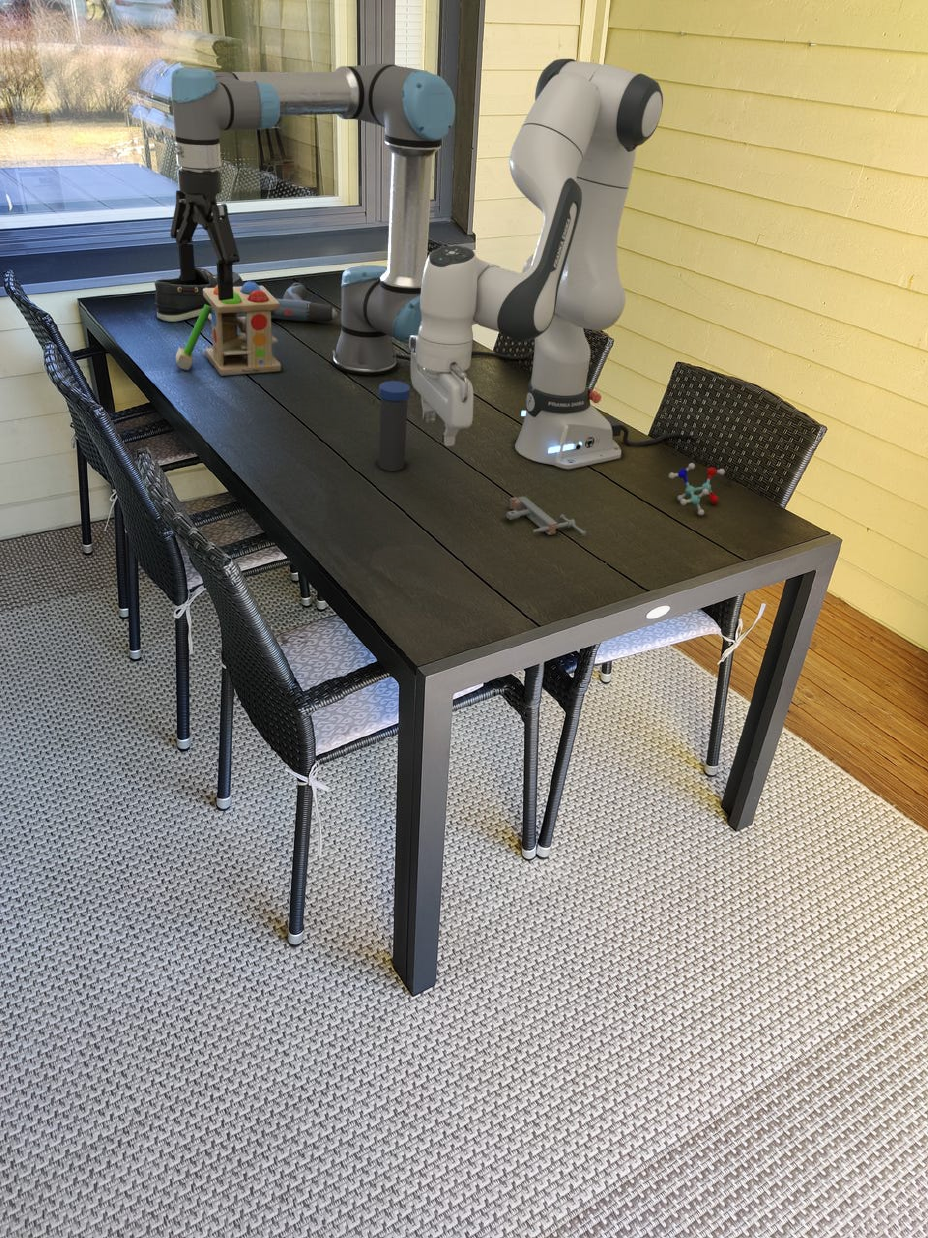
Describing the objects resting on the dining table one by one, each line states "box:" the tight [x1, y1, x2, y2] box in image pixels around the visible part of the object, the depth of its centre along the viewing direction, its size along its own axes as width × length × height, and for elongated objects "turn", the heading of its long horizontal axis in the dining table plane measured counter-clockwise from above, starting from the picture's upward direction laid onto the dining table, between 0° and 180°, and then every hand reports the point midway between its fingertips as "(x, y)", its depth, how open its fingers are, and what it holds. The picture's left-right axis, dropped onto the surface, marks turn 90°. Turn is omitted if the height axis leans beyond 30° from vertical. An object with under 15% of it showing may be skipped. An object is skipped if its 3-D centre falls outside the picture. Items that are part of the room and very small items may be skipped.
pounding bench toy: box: [174, 281, 282, 377], centre depth 225 cm, size 23×14×18 cm, turn 116°
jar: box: [377, 397, 409, 472], centre depth 189 cm, size 5×5×16 cm
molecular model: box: [668, 462, 726, 517], centre depth 188 cm, size 12×10×10 cm
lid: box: [378, 380, 411, 401], centre depth 185 cm, size 6×6×2 cm
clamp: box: [506, 496, 587, 537], centre depth 177 cm, size 15×2×10 cm
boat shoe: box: [153, 266, 244, 323], centre depth 262 cm, size 13×33×10 cm, turn 147°
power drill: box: [271, 282, 338, 322], centre depth 265 cm, size 5×19×20 cm
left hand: (206, 289), depth 186 cm, fingers open, 13 cm apart
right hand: (438, 432), depth 166 cm, fingers open, 8 cm apart
